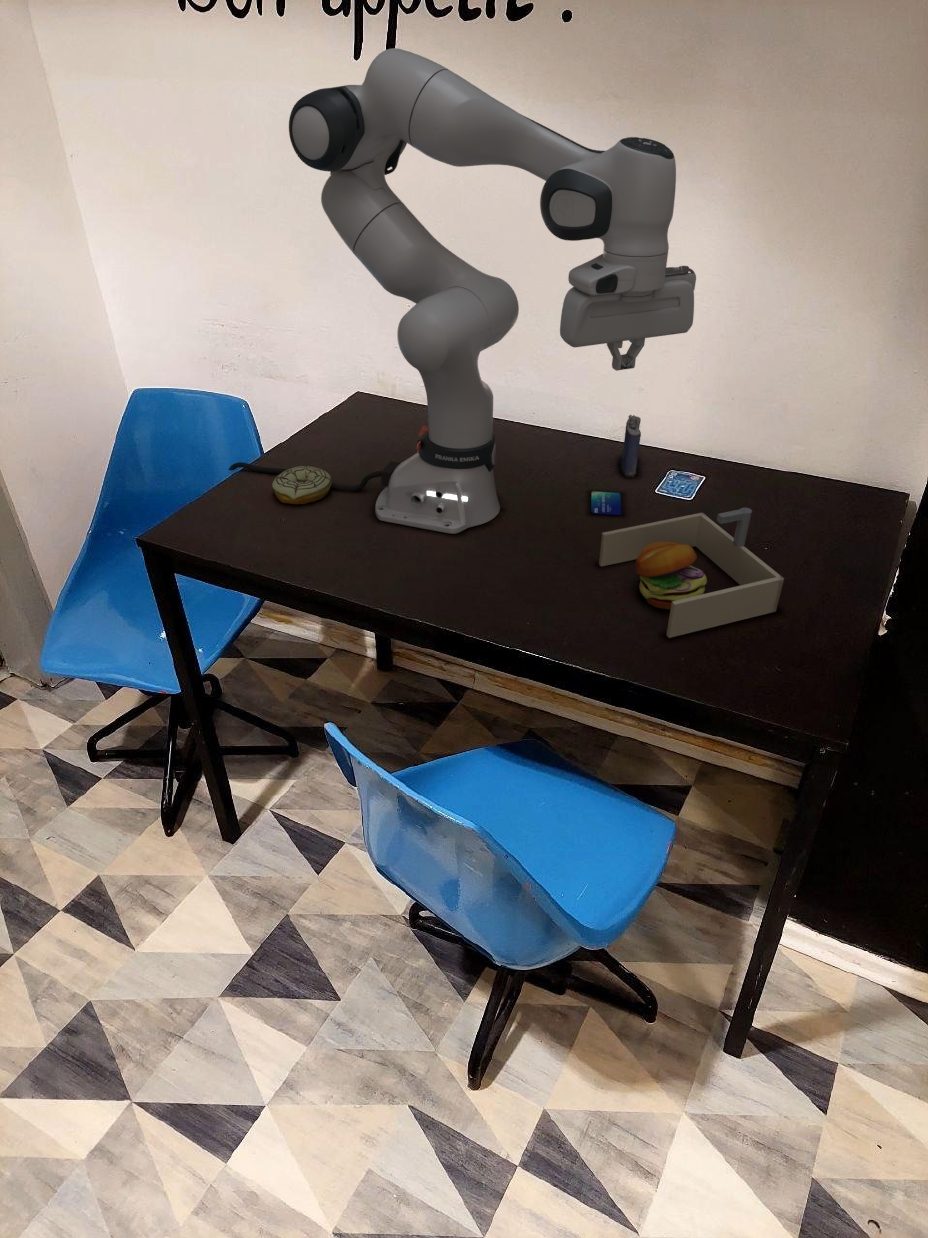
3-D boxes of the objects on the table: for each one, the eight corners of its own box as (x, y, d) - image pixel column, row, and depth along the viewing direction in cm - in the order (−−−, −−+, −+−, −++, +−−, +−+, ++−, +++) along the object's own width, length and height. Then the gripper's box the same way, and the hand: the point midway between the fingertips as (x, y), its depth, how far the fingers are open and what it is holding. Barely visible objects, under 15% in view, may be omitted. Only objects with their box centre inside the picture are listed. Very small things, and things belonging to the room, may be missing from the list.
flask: (636, 478, 171) (642, 425, 164) (620, 477, 171) (626, 424, 165) (635, 457, 178) (641, 406, 172) (620, 456, 178) (626, 406, 172)
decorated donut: (262, 493, 165) (260, 475, 163) (309, 475, 171) (307, 457, 169) (295, 513, 159) (293, 494, 157) (342, 493, 165) (341, 475, 163)
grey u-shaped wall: (668, 638, 129) (680, 568, 122) (598, 564, 145) (605, 499, 138) (778, 610, 134) (796, 542, 127) (699, 542, 151) (710, 479, 144)
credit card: (621, 515, 158) (621, 514, 158) (591, 513, 159) (591, 513, 159) (620, 493, 165) (620, 492, 165) (591, 491, 166) (591, 491, 166)
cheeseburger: (682, 625, 131) (677, 563, 127) (624, 610, 139) (617, 552, 134) (720, 597, 137) (716, 537, 133) (662, 584, 144) (657, 528, 140)
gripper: (685, 258, 128) (672, 352, 137) (558, 272, 123) (552, 369, 131) (710, 269, 124) (695, 366, 132) (578, 284, 118) (571, 384, 126)
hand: (623, 368), depth 131 cm, fingers closed
